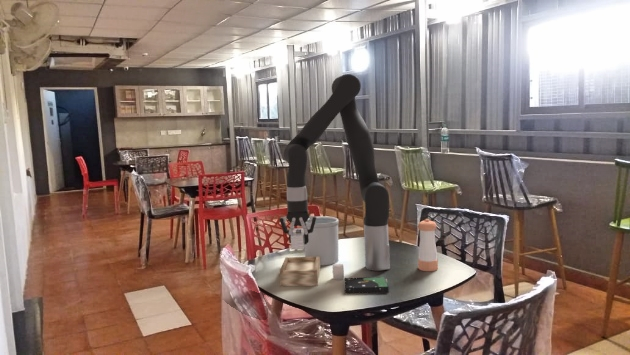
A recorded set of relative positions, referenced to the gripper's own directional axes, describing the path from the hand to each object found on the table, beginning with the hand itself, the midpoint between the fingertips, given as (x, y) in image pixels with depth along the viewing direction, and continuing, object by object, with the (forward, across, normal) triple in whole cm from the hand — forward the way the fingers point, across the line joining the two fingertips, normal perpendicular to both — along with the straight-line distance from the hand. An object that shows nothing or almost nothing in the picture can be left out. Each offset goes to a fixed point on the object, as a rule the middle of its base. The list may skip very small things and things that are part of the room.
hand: (299, 243), depth 178 cm
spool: (+13, +14, -2) cm, 19 cm away
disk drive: (+14, +24, -13) cm, 30 cm away
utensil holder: (+13, +7, +21) cm, 26 cm away
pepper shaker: (+13, +48, +7) cm, 50 cm away
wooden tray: (+13, 0, 0) cm, 13 cm away
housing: (+1, 0, 0) cm, 1 cm away
